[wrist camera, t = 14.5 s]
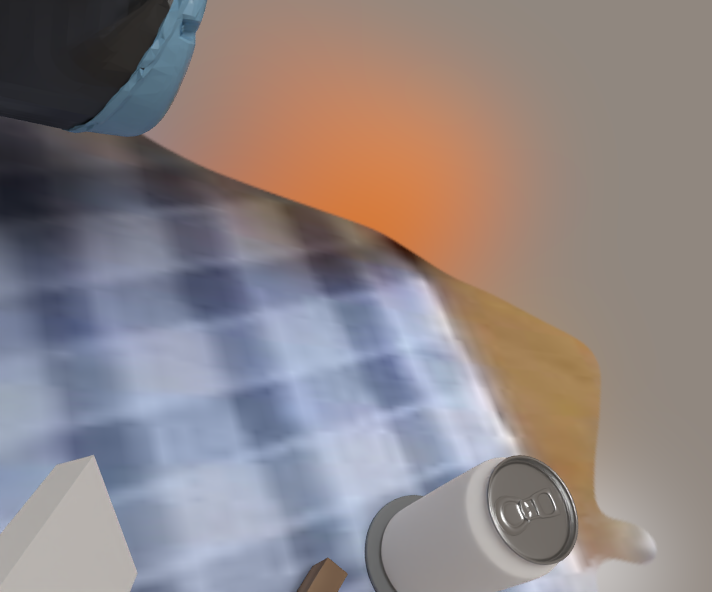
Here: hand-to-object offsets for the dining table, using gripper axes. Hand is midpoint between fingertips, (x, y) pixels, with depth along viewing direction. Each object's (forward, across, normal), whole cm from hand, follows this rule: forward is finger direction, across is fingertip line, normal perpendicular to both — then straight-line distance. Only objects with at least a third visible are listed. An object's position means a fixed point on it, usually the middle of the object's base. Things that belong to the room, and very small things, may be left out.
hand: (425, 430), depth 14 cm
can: (+27, 0, -21) cm, 34 cm away
